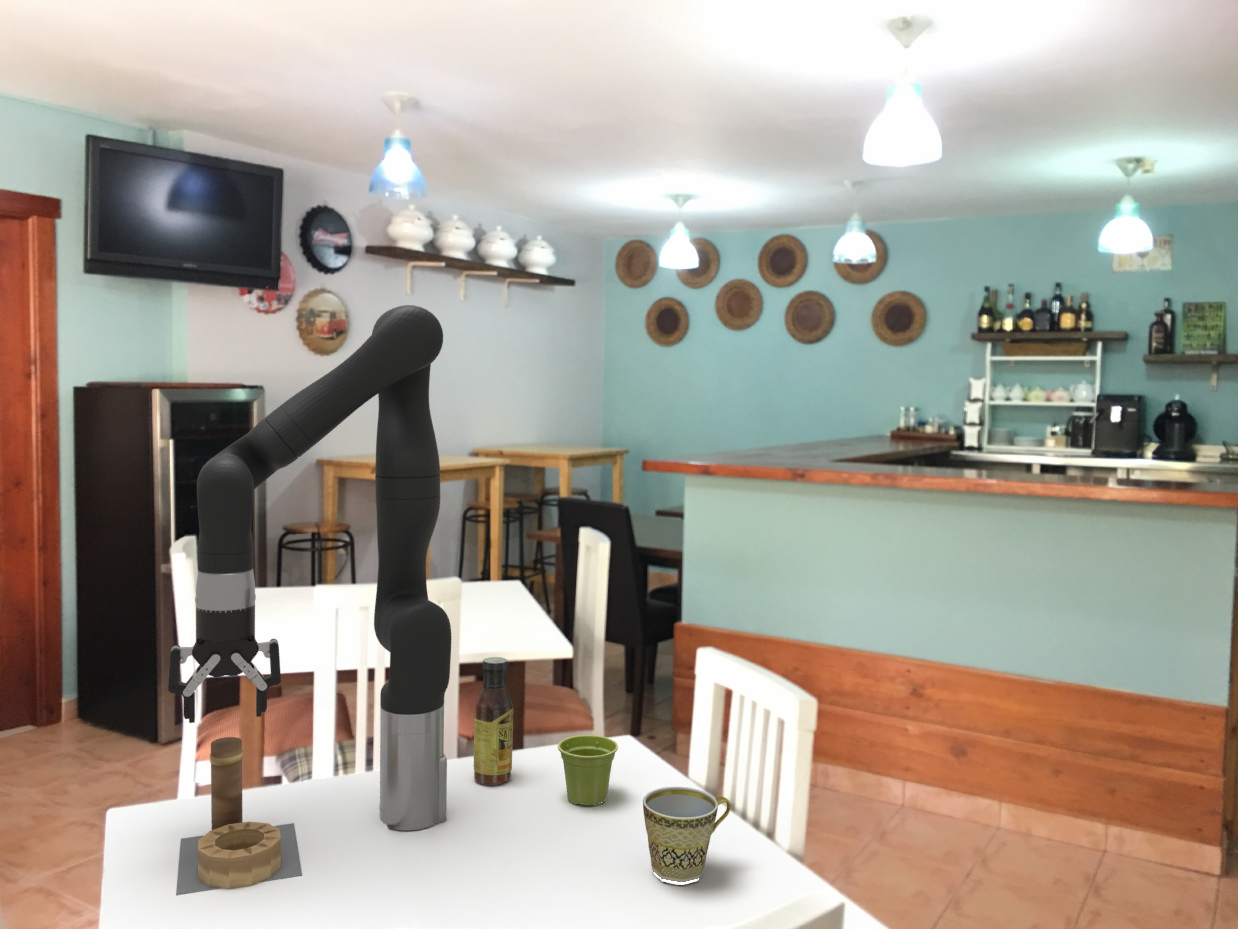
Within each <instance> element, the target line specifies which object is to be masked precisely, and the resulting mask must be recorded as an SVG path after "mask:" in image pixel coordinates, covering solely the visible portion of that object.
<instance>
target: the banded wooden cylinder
mask: <svg viewBox="0 0 1238 929" xmlns="http://www.w3.org/2000/svg"><path fill="white" fill-rule="evenodd" d="M243 752H244V751H243V739H242V738H239V737H238V736H237V737H235V736H226V737H220V738H217V739H215V740H212V741H211V743H210V754H209V762H210V789H211V791H210V796H211V797H210V799H211V800H210V801H211V804H210V806H211V808H210V809H211V810H210V811H211V813H210V814H211V831H212V830H214V829H217V828H220V827H223V826H225V825H228V824H235V823H242V822H244V821H243V759H244V756H243V755H244V753H243Z"/></svg>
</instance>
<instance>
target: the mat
mask: <svg viewBox="0 0 1238 929" xmlns="http://www.w3.org/2000/svg"><path fill="white" fill-rule="evenodd" d="M273 826H274V827H276V828H278V829H280V837H281V867H280V868H279V869H278V870H277V871H276V872H275V873H274V874H273V875H272V876H271V877H270V878H268V879H265V880H263V881H261V882H258V883H264V882H271V881H277V880H278V881H279V880H285V879H291V878H297V877H302V876H303V870H302V865H301V864H302V863H301V859H300V853H299V852H300V851H299V847H298V846H299V845H298V841H297V839H298V838H297V834H296V828H295V823H294V822H293V823H292V822H291V823H284V824H277V825H273ZM204 835H205V834H204ZM204 835H198V836H197V835H196V836H190V837H183V838H182V837H181V838H180V844H179V858H178V867H177V869H178V870H177V879H176V888H175V889H176V891H175V892H176V893H175V896H181V895H187V894H188V895H189V894H195V893H201V892H207V891H213V890H219V889H222V888H217V887H209V886H208V885H206V884H204V883H203V882H201V881H200V880H198V840H200V839H201V838H202V837H203V836H204Z"/></svg>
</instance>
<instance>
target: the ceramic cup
mask: <svg viewBox="0 0 1238 929" xmlns="http://www.w3.org/2000/svg"><path fill="white" fill-rule="evenodd" d="M723 803H726V809H725V811H724V812H723V813H722V815H721V816H720V817H719V818H718V819H717V814H718V808H719V806H720V805H721V804H723ZM642 808H643V816H644V826H645V830H646V834H647V843H648V850H649V857H650V864H651V870H653V872H655V873H656V874H657V875H658V876H659V877H661V879H666V880H671V881H677V882H686V881H690V880H694V879H698V878H700V877H701V878H702V876H701V875H703V874H702V873H704V871H705V865H706V859H707V854H708V852H709V851H708V850H709V847H710V846H709V845H710V842H711V838H712V834H713V833H714V832H715V831H716V829H717V828H718V827H719V825H720V824H721V823H722V822H723V821H724V820H725V819H726V818H727V817H728V816H729V814H730V812H731V803H730V800H729V799H728V798H726V797H725V796H724V797H723V796H718V797H714V796H713V795H712V794H710V793H708V792H706V791H704V790H700V789H697V788H695V787H694V788H693V787H684V786H666V787H665V786H664V787H660V788H655V789H653V790H651V791H649V792H647V793H646V795H645V796H644V797H643V799H642ZM703 870H704V871H703ZM653 872H652V873H653ZM701 878H700V879H701Z"/></svg>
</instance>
